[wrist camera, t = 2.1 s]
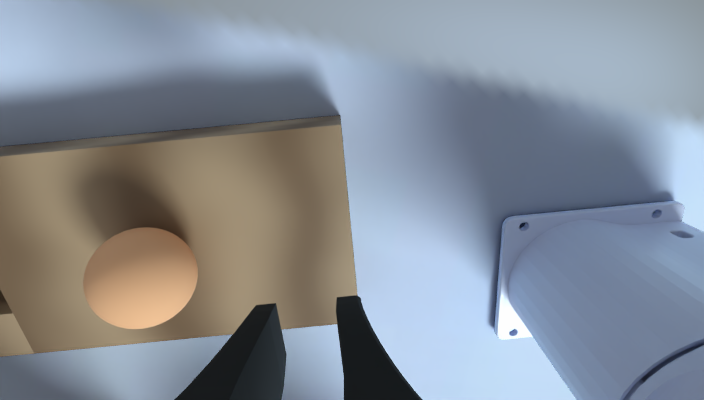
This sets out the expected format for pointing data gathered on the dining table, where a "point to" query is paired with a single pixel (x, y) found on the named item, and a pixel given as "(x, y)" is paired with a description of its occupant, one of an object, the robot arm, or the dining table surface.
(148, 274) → the ball
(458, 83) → the dining table surface
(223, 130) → the deck
